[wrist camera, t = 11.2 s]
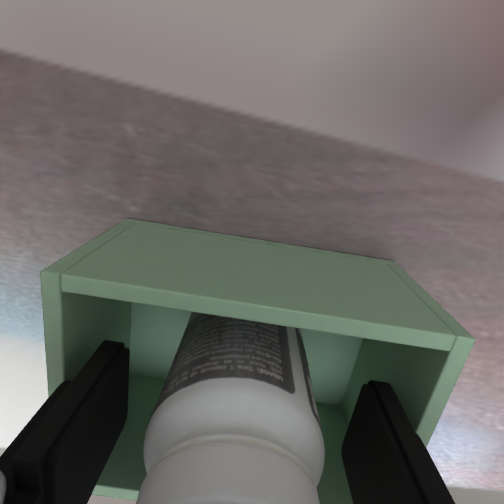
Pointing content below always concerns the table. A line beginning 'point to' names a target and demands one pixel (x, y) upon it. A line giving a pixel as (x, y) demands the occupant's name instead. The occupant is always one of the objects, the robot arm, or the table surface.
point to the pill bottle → (235, 419)
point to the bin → (253, 309)
